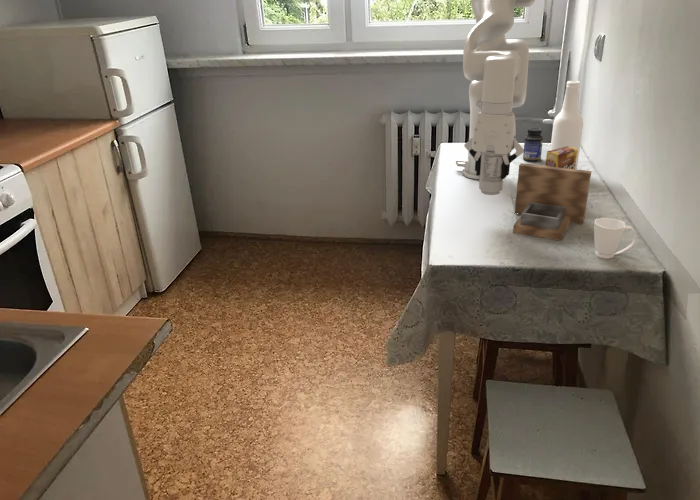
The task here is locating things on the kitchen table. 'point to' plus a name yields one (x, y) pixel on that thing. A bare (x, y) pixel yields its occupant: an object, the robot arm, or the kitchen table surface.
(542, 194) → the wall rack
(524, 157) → the pill bottle
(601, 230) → the cup
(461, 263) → the kitchen table surface
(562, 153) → the candy box
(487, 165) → the energy drink can
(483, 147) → the robot arm
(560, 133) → the alcohol
